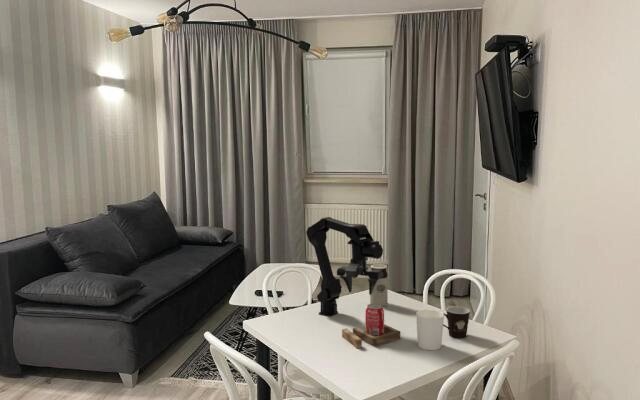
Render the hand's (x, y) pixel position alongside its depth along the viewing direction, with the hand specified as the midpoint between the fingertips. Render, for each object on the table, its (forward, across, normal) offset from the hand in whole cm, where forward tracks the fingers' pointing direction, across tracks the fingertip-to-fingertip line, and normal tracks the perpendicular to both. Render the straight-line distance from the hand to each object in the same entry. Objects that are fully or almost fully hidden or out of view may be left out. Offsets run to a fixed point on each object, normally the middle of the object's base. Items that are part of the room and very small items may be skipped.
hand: (360, 293), depth 197 cm
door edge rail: (+13, +5, -18) cm, 23 cm away
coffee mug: (+14, +36, +8) cm, 39 cm away
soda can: (+13, +11, -9) cm, 19 cm away
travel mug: (+13, -5, +27) cm, 31 cm away
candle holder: (+14, +31, -6) cm, 35 cm away
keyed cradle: (+14, +11, -9) cm, 20 cm away
